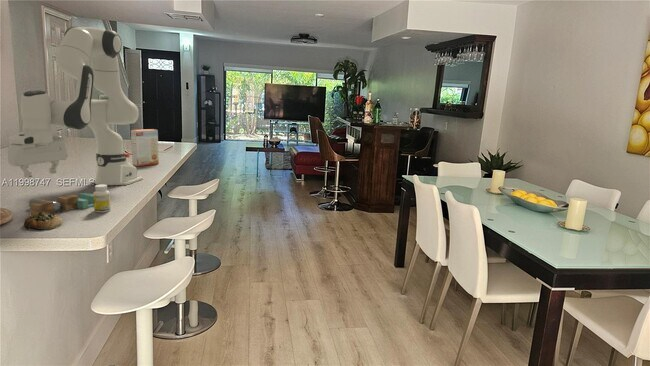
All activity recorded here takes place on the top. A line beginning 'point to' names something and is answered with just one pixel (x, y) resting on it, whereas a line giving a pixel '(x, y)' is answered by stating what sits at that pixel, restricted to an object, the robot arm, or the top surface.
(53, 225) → the bread roll
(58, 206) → the axle
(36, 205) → the pair of brown blocks
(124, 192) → the top surface
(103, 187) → the supplement bottle
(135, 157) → the cracker box
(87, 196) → the cradle
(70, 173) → the top surface
